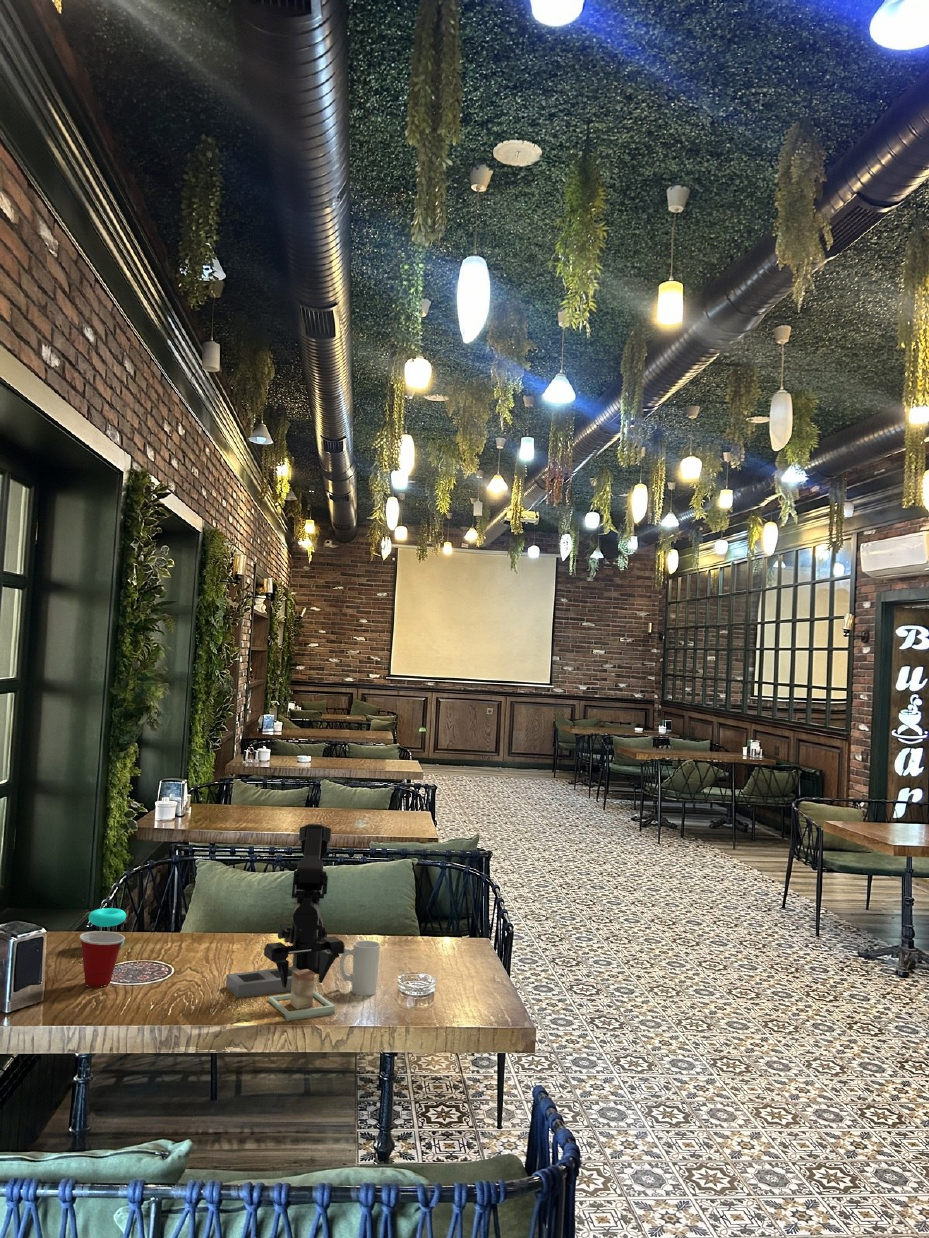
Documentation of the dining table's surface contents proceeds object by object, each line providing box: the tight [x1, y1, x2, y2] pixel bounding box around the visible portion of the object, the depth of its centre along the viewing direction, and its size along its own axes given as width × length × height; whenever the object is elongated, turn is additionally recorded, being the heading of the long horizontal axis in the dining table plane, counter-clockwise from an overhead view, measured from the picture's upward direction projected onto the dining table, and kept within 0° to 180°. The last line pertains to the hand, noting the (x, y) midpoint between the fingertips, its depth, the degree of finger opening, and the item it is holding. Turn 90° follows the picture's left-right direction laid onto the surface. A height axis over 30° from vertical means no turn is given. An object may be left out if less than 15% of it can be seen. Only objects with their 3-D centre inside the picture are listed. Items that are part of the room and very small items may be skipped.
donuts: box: [88, 907, 127, 947], centre depth 265 cm, size 10×10×10 cm
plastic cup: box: [79, 930, 126, 988], centre depth 234 cm, size 11×11×12 cm
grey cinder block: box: [225, 965, 299, 999], centre depth 235 cm, size 18×9×4 cm, turn 122°
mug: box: [339, 940, 381, 997], centre depth 239 cm, size 10×7×12 cm, turn 97°
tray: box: [267, 990, 336, 1022], centre depth 224 cm, size 12×12×2 cm
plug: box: [289, 969, 316, 1010], centre depth 224 cm, size 4×4×8 cm
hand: (302, 984), depth 224 cm, fingers open, 9 cm apart
